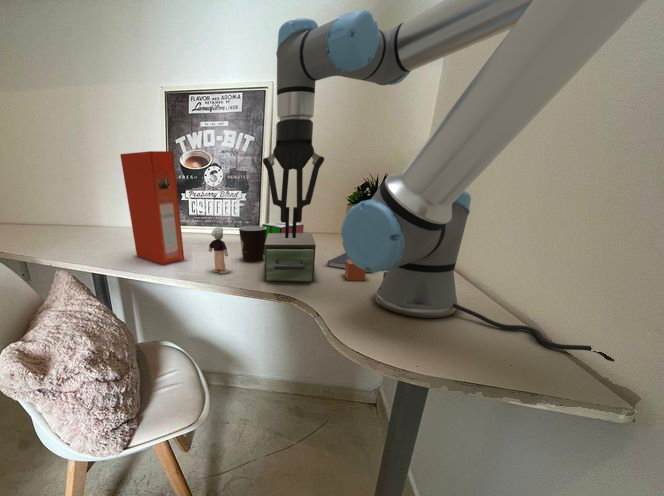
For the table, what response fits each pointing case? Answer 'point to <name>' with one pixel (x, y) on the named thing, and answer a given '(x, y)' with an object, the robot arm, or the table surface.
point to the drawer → (289, 264)
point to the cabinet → (290, 245)
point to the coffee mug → (252, 242)
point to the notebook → (340, 262)
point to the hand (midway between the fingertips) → (290, 236)
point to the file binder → (153, 205)
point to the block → (354, 272)
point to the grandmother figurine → (218, 250)
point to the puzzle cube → (281, 228)
